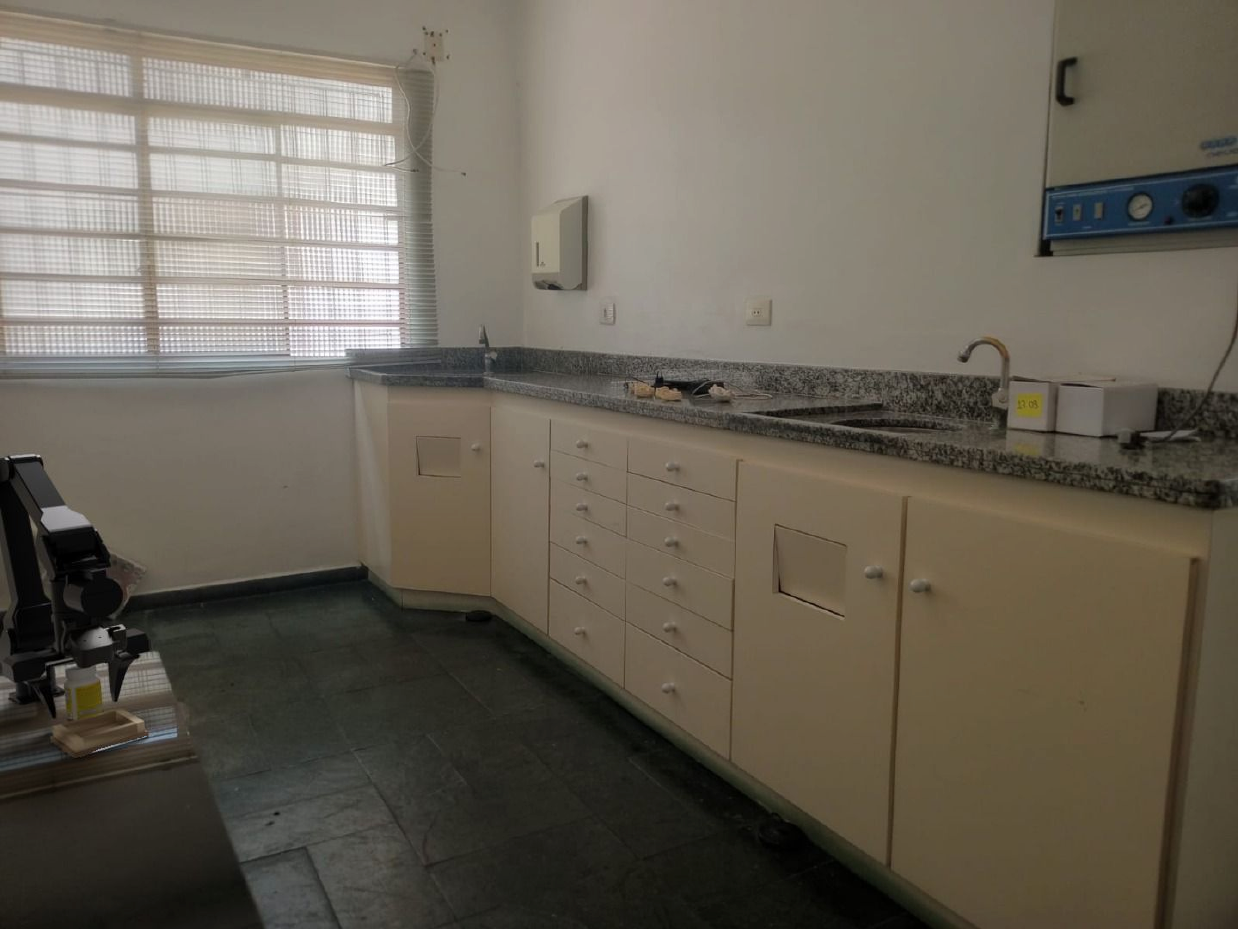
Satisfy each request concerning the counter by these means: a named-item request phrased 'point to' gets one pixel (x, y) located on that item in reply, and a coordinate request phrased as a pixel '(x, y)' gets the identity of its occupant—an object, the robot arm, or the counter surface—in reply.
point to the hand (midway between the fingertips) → (84, 709)
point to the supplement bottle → (82, 692)
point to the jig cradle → (97, 732)
